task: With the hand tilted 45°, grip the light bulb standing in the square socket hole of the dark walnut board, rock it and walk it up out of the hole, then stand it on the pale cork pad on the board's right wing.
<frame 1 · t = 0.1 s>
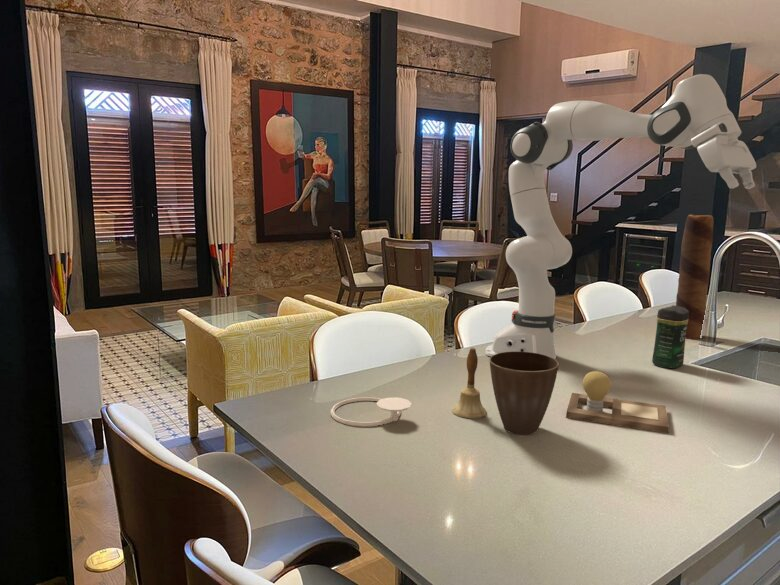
hand: (742, 187, 135), 54 cm above the kitchen island, tool tilted 30°, fingers open, 8 cm apart
coffee jar: (667, 365, 180), on the kitchen island
wafer roll: (687, 336, 216), on the kitchen island
plant pot: (519, 429, 130), on the kitchen island
hand towel holder: (371, 416, 138), on the kitchen island
socket board: (616, 414, 139), on the kitchen island
hand bell: (469, 412, 140), on the kitchen island
light bulb: (594, 412, 141), resting in socket board
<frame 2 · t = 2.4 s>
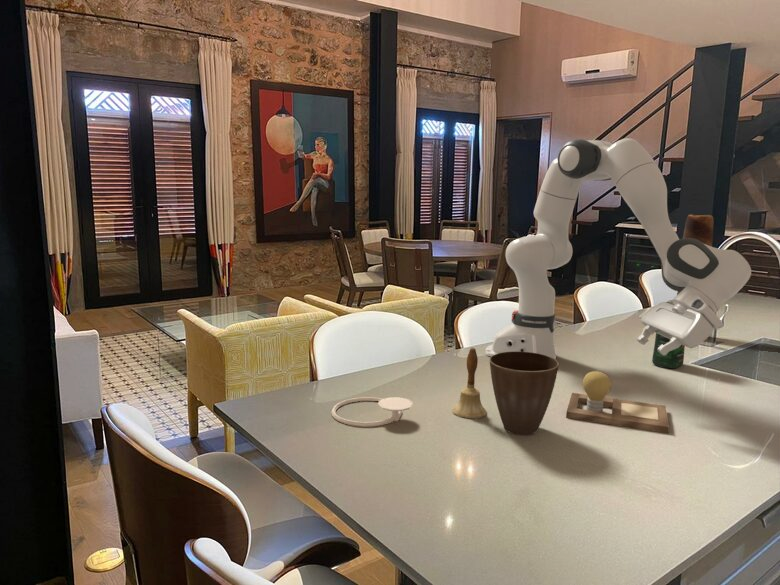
hand: (649, 347, 139), 16 cm above the kitchen island, tool tilted 45°, fingers open, 8 cm apart
nothing on the kitchen island moved.
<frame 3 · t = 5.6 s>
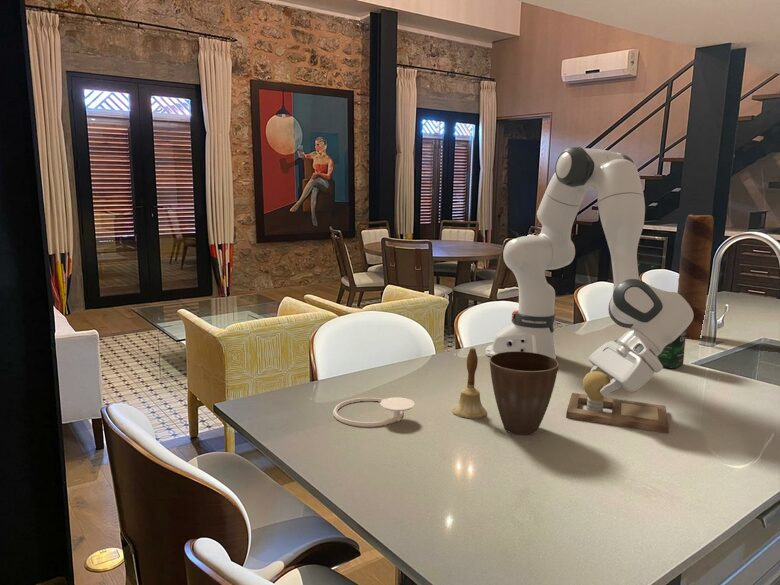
hand: (593, 388, 140), 6 cm above the kitchen island, tool tilted 45°, fingers closed on light bulb, 6 cm apart
light bulb: (594, 412, 141), resting in socket board, touching gripper
everything else where it was.
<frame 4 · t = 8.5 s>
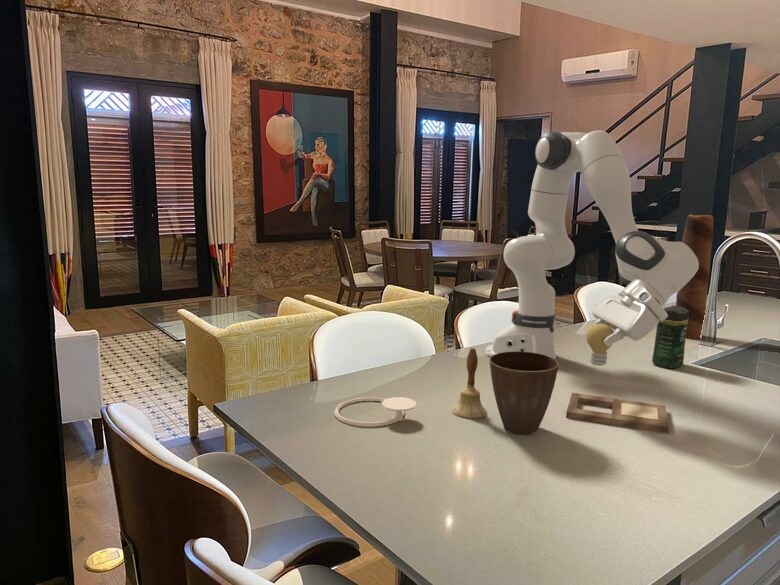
hand: (597, 339, 138), 18 cm above the kitchen island, tool tilted 45°, fingers closed on light bulb, 6 cm apart
light bulb: (597, 365, 139), point 12 cm above the kitchen island, touching gripper
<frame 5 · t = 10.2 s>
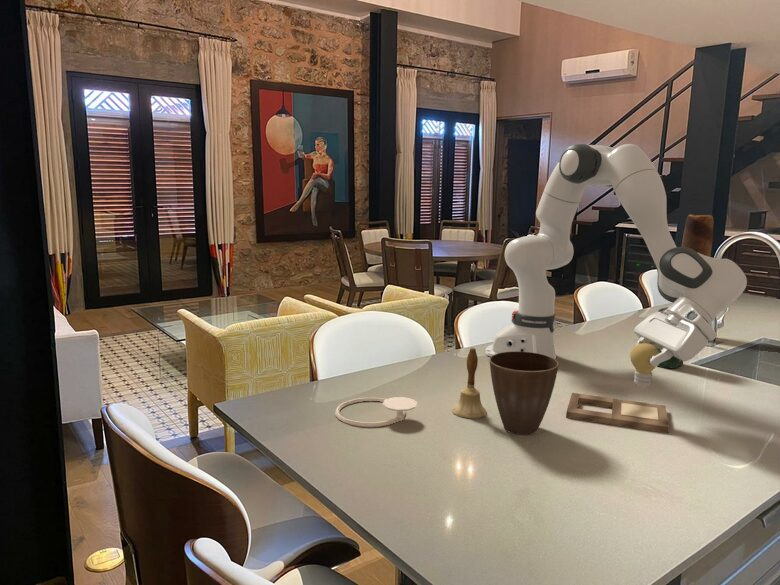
hand: (642, 359, 135), 14 cm above the kitchen island, tool tilted 45°, fingers closed on light bulb, 6 cm apart
light bulb: (642, 385, 136), point 8 cm above the kitchen island, touching gripper
when the fingers open (9 cm above the kitchen island, at t = 11.7 s): light bulb stays where it is, resting on socket board.
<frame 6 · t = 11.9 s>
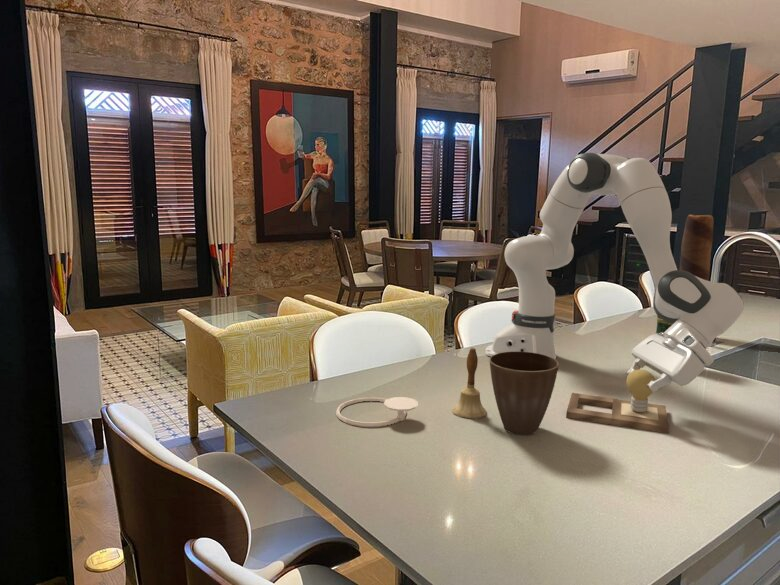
hand: (639, 382, 136), 9 cm above the kitchen island, tool tilted 45°, fingers open, 8 cm apart
light bulb: (638, 411, 137), point 2 cm above the kitchen island, touching socket board
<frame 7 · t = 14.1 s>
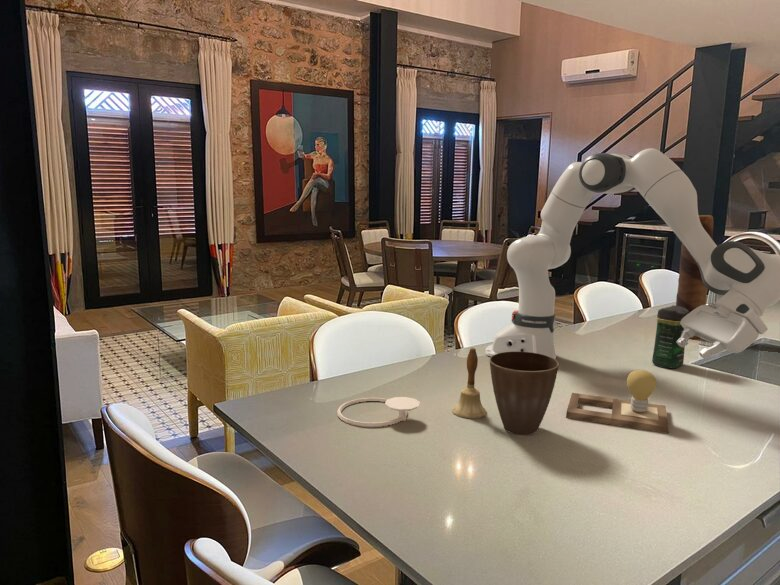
hand: (690, 350, 138), 16 cm above the kitchen island, tool tilted 45°, fingers open, 8 cm apart
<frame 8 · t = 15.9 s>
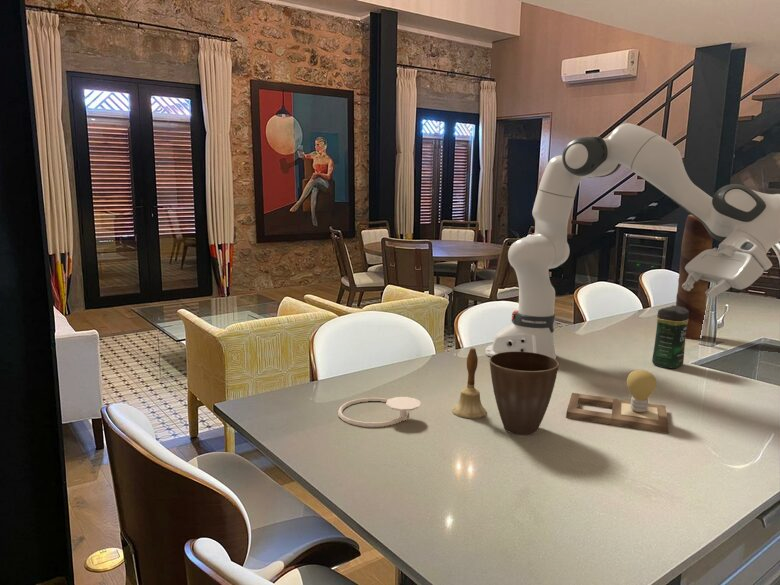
hand: (696, 292, 139), 29 cm above the kitchen island, tool tilted 45°, fingers open, 8 cm apart
at the end: light bulb inside the target area on the socket board (1.1 cm from its centre), point 1.5 cm above the socket board's base; light bulb tilted 0°; the gripper is holding nothing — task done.
